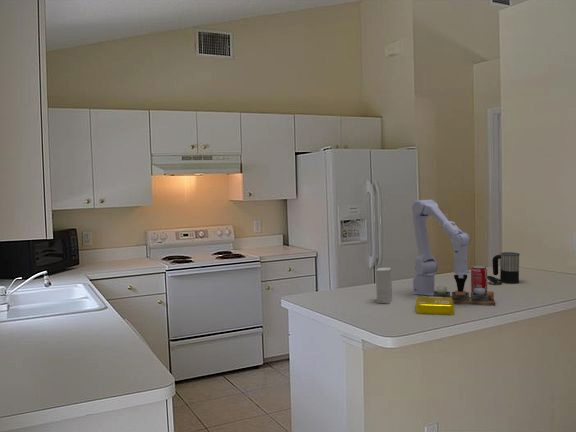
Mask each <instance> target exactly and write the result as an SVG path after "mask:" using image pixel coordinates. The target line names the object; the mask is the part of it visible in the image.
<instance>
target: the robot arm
mask: <svg viewBox="0 0 576 432" xmlns="http://www.w3.org/2000/svg"><path fill="white" fill-rule="evenodd" d="M411 208H412V209H411V210H412V222H413V227H414V232H415V233H414V235H415V240H416V245H417V252H418V256H417V257H415V259H414V262H415V264H414V270H415V273H416V274H414V276H413V279H412V295H419V296H428V295H433V294H434V291H435V275H436V273H437V272H438V270H439V264H438V262H437V260H436V256H434V255H433V254H432V253H431V247H430V242H429V235H428V229H427V224H426V220H427V218H428V217H430V216H432V218H433V219H435V220H436V222H438V223H439V224H440V225H441V226H442V228H441V229H442V231H443V232H444V233H445V235H446V236H447V237H448V238H449V239H450V243H451V245H452V250H453V271H452V272H453V279H454V280H455V283H456V289H457V290H458V292H463V291H465V285H466V281H467V279H468V274H471V270H468V252H469V251H468V249H469V248H468V246H469V245H470V243H471V236H470V235H469V233H468V232H464V231H463V230H461V229H460V227H459V226H458V225H456V222H455V221H452V220H449V219H448V218H447V217H446V216H445V214H444V213H443V212H442V211H441V209H440V208H439V204H438V203H437V202H436V201H435V200H434V199H431V198H430V199H416V200H415V201H414V202H413V204H412V205H411Z"/></svg>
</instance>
